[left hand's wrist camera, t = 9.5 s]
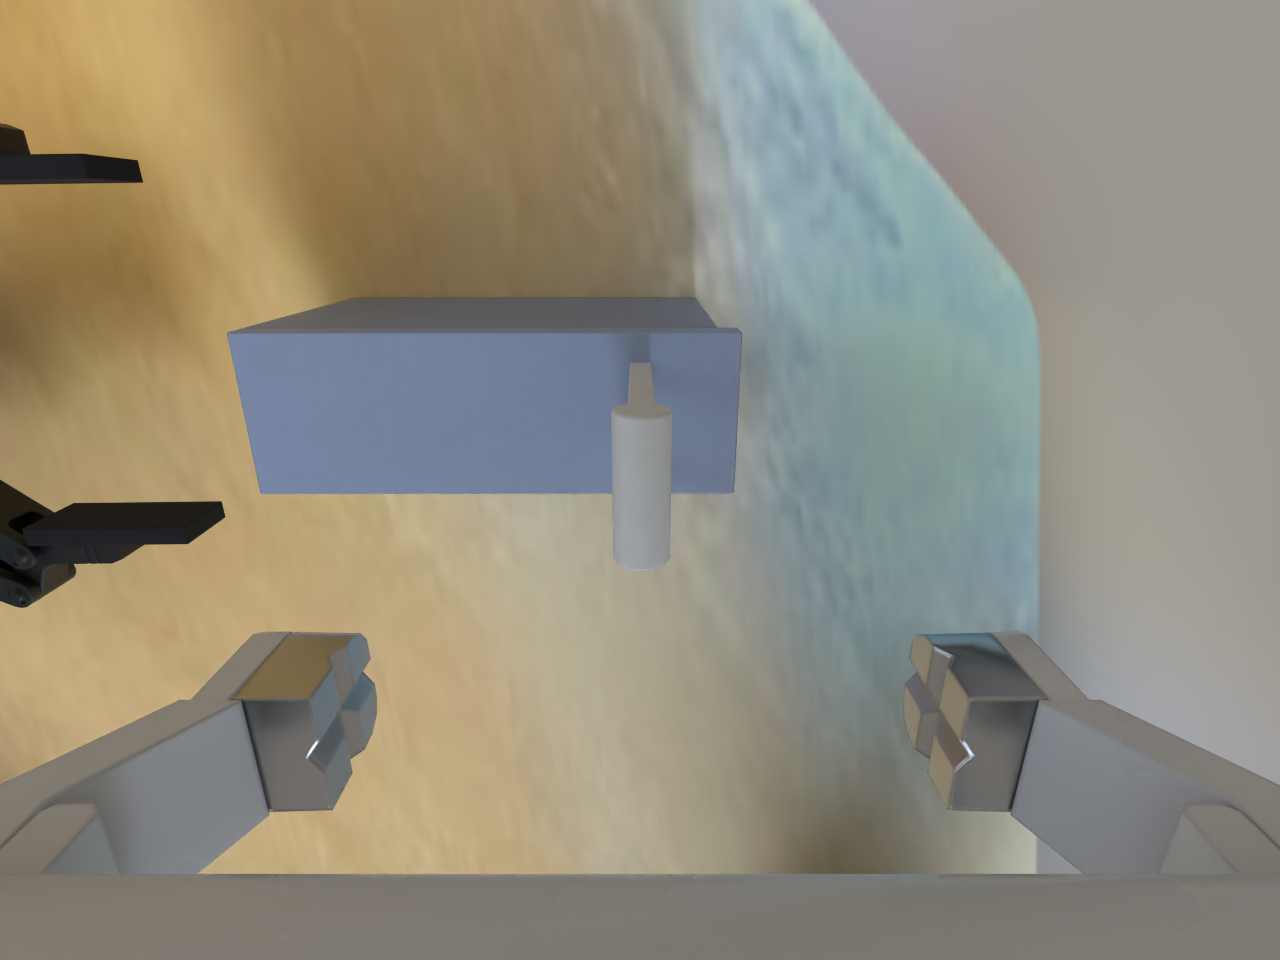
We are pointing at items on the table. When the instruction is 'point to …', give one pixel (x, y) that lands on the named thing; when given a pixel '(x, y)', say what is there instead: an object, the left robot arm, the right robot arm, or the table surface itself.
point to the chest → (501, 313)
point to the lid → (497, 415)
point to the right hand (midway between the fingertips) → (165, 361)
